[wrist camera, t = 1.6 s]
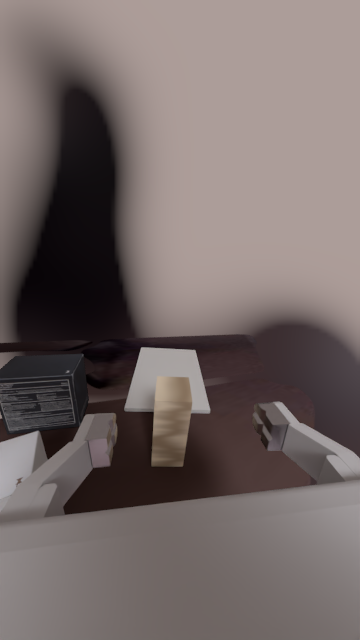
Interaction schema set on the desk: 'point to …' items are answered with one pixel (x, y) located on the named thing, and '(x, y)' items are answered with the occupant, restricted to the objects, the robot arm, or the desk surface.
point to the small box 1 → (43, 392)
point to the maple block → (171, 421)
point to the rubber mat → (167, 365)
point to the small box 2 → (19, 462)
